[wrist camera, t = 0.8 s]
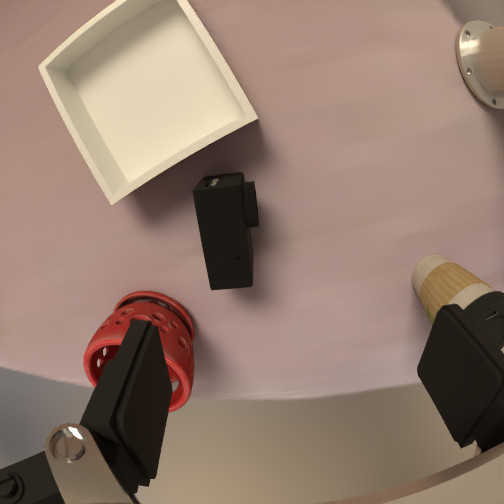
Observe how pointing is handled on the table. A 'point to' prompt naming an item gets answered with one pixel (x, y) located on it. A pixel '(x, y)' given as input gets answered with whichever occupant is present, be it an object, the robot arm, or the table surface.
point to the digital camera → (227, 228)
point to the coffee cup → (459, 294)
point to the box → (143, 91)
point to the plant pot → (171, 333)
